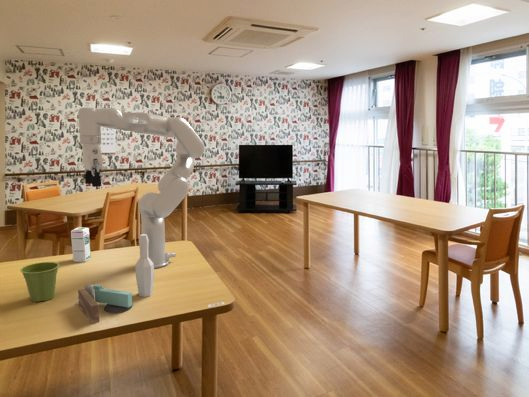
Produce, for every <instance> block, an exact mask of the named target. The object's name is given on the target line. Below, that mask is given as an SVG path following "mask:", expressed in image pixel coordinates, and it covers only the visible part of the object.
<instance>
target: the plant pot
mask: <svg viewBox="0 0 529 397" xmlns="http://www.w3.org/2000/svg"><path fill="white" fill-rule="evenodd" d="M58 268H60V263H58V262H55V261H43V262H35V263H31V264H26V265H24V266H23V267H21V268H20V273H22V276H23V279H25V283H26V287H27V290H28V294H29V297H30V300H31V301H32V302H36V303H37V302H42V301H50V300H51V299H53V298H54V297H55V293H56V284H57V283H56V282H57V274H58Z"/></svg>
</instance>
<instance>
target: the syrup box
mask: <svg viewBox="0 0 529 397" xmlns="http://www.w3.org/2000/svg"><path fill="white" fill-rule="evenodd" d="M70 239H71V251H72V261H73V262H74V263H76V262H77V263H86V262H88V261H89V260H90V259H92V250H91V239H90V228H89V227H84V226H80V227H76V228H74V229H72V230H70Z"/></svg>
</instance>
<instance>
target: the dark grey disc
mask: <svg viewBox="0 0 529 397" xmlns="http://www.w3.org/2000/svg"><path fill="white" fill-rule="evenodd" d="M132 307H133V304H132V305H131V306H130V307H123V306H117V305H111V304H105V305H104V306H103V311H104V312H105V313H109V314H120V313H124V312H127V311H129V310H131V309H132Z"/></svg>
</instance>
